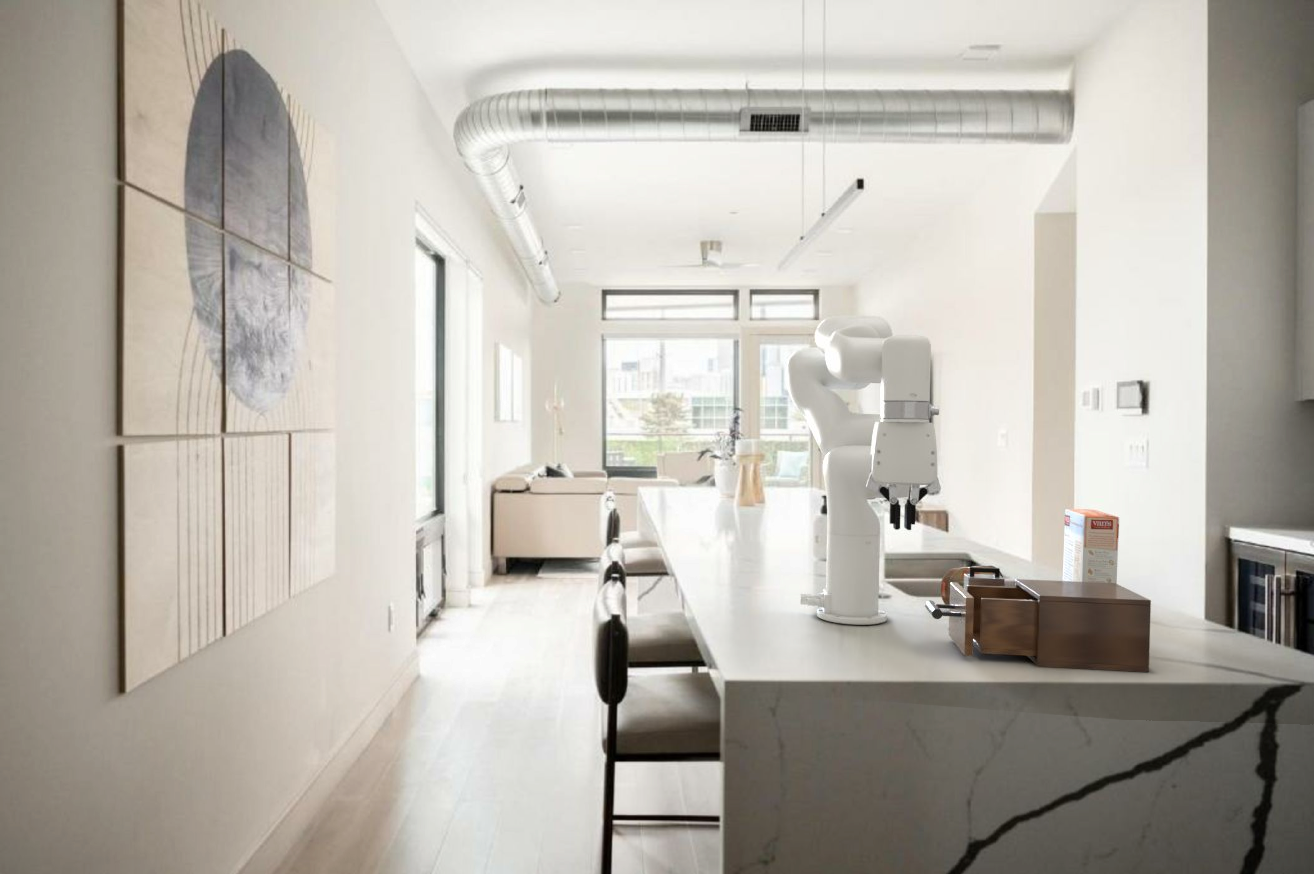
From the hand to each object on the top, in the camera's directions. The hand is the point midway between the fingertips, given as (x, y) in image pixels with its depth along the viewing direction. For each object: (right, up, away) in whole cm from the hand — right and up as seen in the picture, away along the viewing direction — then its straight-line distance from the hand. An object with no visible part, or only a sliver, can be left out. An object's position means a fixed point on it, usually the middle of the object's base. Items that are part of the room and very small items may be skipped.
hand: (902, 528), depth 146 cm
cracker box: (+37, -20, +16) cm, 45 cm away
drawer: (+13, -19, -2) cm, 23 cm away
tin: (+22, -19, +33) cm, 44 cm away
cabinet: (+26, -20, -3) cm, 33 cm away
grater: (+18, -19, +14) cm, 30 cm away
